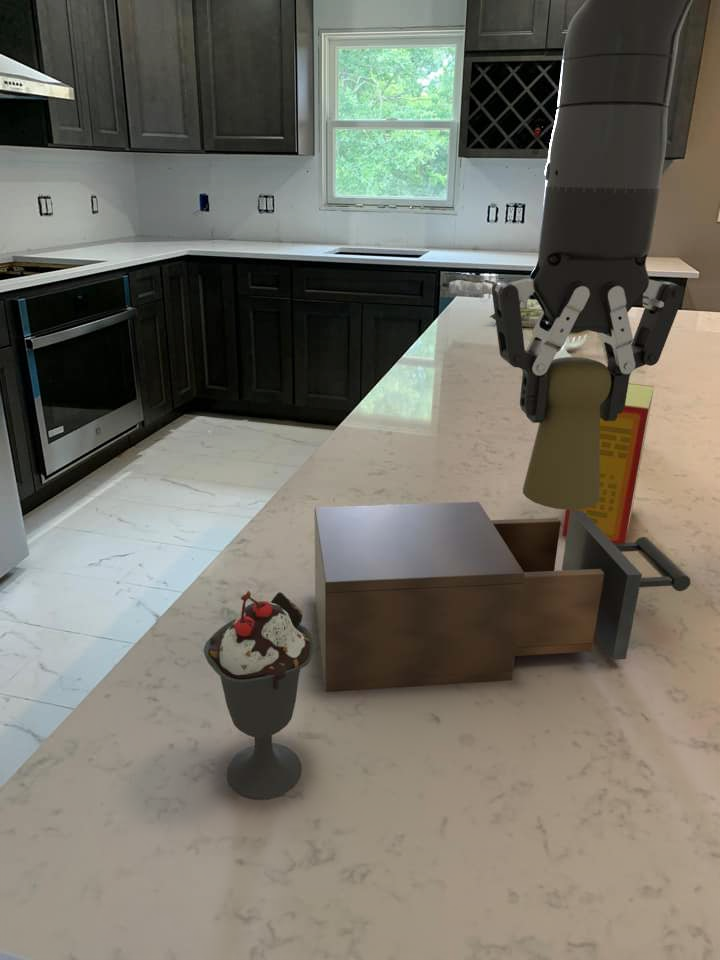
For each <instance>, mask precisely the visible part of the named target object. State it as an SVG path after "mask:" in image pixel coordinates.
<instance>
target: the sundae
mask: <svg viewBox="0 0 720 960" xmlns="http://www.w3.org/2000/svg"><path fill="white" fill-rule="evenodd" d="M251 595H252V593H251V591H250V590H247V591H246V593H245V594H243V595H242V596H241V597H240V600H242V607H241V611H240V613H239V614H238V615H237V617H236V618H235V619H232V620H231V621H228V622H227V623H225V624H224V625H223V626H221V627H220V628H219V629H218V630H217V631H216V632H214V634H212V636H210V638H209V639H207V641H206V642H205V644H204V648H203V654H204V657H205V659H206V662H207V663H208V664H209V666H210V668H212V669H213V670H214V672H215V673H216V674H217V675H218V676H219V677H220V681H221V686H222V690H223V695H224V699H225V703H226V707H227V710H228V713H229V716H230V718H231V721H232V723H233V725H234V727H235V728H236V729H237V730H238V731H240V732H241V733H243V734H244V735H246V736H249V737H252V738H253V739H254V745H251V746H248V747H246V748H244V749H242V750H240V751H239V752H238V753H236V755H234V757H233V758H232V759H231V761H230V762H229V763H228V766H227V770H226V779H227V783H228V784H229V786H230V788H231V789H232V790H233V791H234V792H236V794H238V795H240V796H242V797H244V798H246V799H247V798H248V799H251V800H260V801H261V800H271V799H274V798H278V797H280V796H282V795H285V794H286V793H288V792H289V791H291V790H292V789H293V788H294V787H295V786H296V785H297V783H298V782H299V780H300V778H301V776H302V769H303V768H302V767H303V766H302V762H301V760H300V757H299V756H298V755H297V753H296V752H294V751H293V749H291V748H289V746H285V745H283V744H280V743H276V742H273V736H274V735H276V734H278V733H279V732H280V731H282V730H283V729H284V728H285V727H287V726H288V725H289V723H290V722H291V721H292V718H293V714H294V710H295V707H296V701H297V694H298V687H299V678H300V674H301V670H302V669H304V668H305V667H306V666H308V664H309V663H310V662H311V659H312V656H313V654H314V638H313V635H312V634H311V632H310V630H308V628H307V627H306V626H304V625H302V624H301V623H302V621H303V614H304V613H303V611H302V610H301V609H300V608H299V607H298V606H297V605H296V604H295V603H294V602H293V601H292V600H291V599H289V598H288V597H287V596H286V595H285V594H284V593H283V592H281V591H279V592H277V593H276V594H275V595H274V597H273V598H272V600H271V601H268V600H267V601H266V600H259V601H257V600H255V599H254V598H252V597H251ZM248 600H250V601H251V602H252V603H249V604H248V605H246V604H247V603H246V602H247V601H248Z"/></svg>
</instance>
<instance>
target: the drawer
mask: <svg viewBox="0 0 720 960" xmlns="http://www.w3.org/2000/svg"><path fill="white" fill-rule="evenodd" d="M490 520H491V522H492V523H493V525H494V526H495V528H496V529H497V531H498V533H499V534H500V536H501V537H502V539H503V540H504V542H505V543H506V545H507V547H508V548H509V550H510V551H511V553H512V554H513V556H514V557H515V559H516V561H517V562H518V564H519V565H520V567H521V568H522V570H523V572H524V573H525V574H524V583H523V592H522V601H521V609H520V617H519V626H518V634H517V643H516V651H515V657H521V656H538V655H539V656H540V655H555V654H572V653H588V652H589V653H591V652H592V651H593V646H594V639H595V638H596V640H597V641H598V642H599V644H600V645H601V647H602V648H603V649H604V650H605V652H606V653H607V656H609V657H610V659H611V660H612V661H618V660H626V659H627V655H628V650H629V646H630V639H631V634H632V629H633V624H634V618H635V615H636V614H635V613H636V610H637V609H636V608H637V603H638V597H639V593H640V588H655V587H671V588H673V590H675V592H685V590H687V589H689V587H690V585H691V577H689V576H688V575H687V574H686V573H685V572H684V571H683V570H682V568H680V567H679V566H678V565H677V564H676V563H675V562H674V561H673V560H672V559H671V558H669V556H668V555H667V554H666V553H664V551H662V550H661V549H660V548H659V547H658V545H656V543H654V542H653V541H652V540H651V539H650V538H649V537H647V536H641V537H639V538H637V539H636V540H635V542H625V543H612V542H611V541H610V540H609V538H608V537H607V536H606V535H605V534H604V533H603V532H602V531H601V530H600V529H599V528H598V527H597V526H596V524H595V523H594V522H593V521H592V520H591V519H590V518H589V517H588V516H587V515H586V514H585V513H584V512H583V511H582V510H579V511H570V515H569V522H568V530H567V536H565V537H566V538H565V544H564V553H563V559H562V566H561V570H555V567H556V561H557V560H556V559H557V555H558V546H559V538H560V531H561V523H562V521H561V519H560V518H558V517H541V518H517V519H515V518H514V519H513V518H512V519H490ZM623 552H624V553H625V552H637V553H638V554H639V555H640V556H641V557H642V558H643V559H644V560H645V561H646V562H647V563H648V564H649V565H650V566H651V567H652V568H653V569H654V570H655V571H656V573H658V574H659V575H660V576H651V577H650V576H649V577H642V576H643V574H642V573H641V572H640V570H638V568H637V567H636V566H635V565H634V564H633V563H632V562H631V561H630V560H629V559H628V557H627V556H626V555H625V554H624V553H623Z"/></svg>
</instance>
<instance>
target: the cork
mask: <svg viewBox="0 0 720 960" xmlns="http://www.w3.org/2000/svg"><path fill="white" fill-rule="evenodd" d="M545 374H546V375H548V376H549V382H548V390H547V398H546V407H545V415H544V421H543V422H542V423H538V427H537V431H536V435H535V439H534V443H533V447H532V451H531V455H530V458H529V463H528V466H527V470H526V474H525V479H524V482H523V487H522V494H523V495H524V496H525V498H527V499H528V500H530V501H531V502H533V503H535V504H537V505H541V506H543V507H547V508H552V509H555V510H565V511H566V510H577V509H585V508H589V507H592V506H594V505H596V504H597V503H598V501H599V500H600V405H601V404H602V403H603V401H604V400H605V399H606V398H607V396H608V394H609V392H610V388H611V375H610V373H609V371H608V368H607V365H605V364H604V363H602V362H600V361H598V360H596V359H592V358H589V357H588V358H587V357H582V356H572V357H564V358H557V359H554V360H552V362H551V364H550V366H549V368H548V370H547V372H546V373H545Z"/></svg>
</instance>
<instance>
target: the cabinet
mask: <svg viewBox="0 0 720 960" xmlns="http://www.w3.org/2000/svg"><path fill="white" fill-rule="evenodd" d="M491 520H492V519H491V518H490V517H489V515H488V514H487V512H486V511H485V509H484V508H483V506H482V504H481V503H480V501H464V502H461V501H460V502H459V501H458V502H434V503H406V504H404V503H403V504H377V505H373V504H372V505H349V506H346V505H345V506H322V507H321V506H319V507H318V506H317V507H314V596H315V597H314V603H315V613H316V622H317V629H318V639H319V647H320V656H321V666H322V674H323V683H324V692H325V693H333V692H334V693H336V692H349V691H351V692H352V691H364V690H380V689H382V690H383V689H398V688H409V687H410V688H413V687H415V688H416V687H429V686H444V685H445V686H446V685H458V684H459V685H461V684H475V683H476V684H477V683H490V682H491V683H492V682H493V683H494V682H505V681H506V682H508V681H509V682H510V681H512V680H513V675H514V666H515V659H516V656H515V651H516V643H517V634H518V626H519V617H520V609H521V601H522V592H523V583H524V574H525V573H524V572H523V570H522V568H521V567H520V565H519V564H518V562H517V561H516V559H515V557H514V556H513V554H512V553H511V551H510V550H509V548H508V547H507V545H506V543H505V542H504V540H503V539H502V537H501V536H500V534H499V533H498V531H497V529H496V528H495V526H494V525H493V523H492V522H491Z"/></svg>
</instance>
